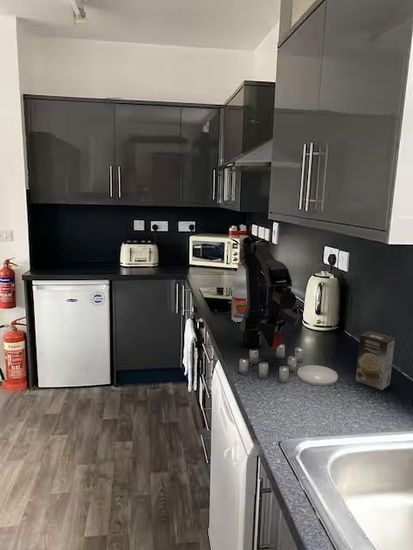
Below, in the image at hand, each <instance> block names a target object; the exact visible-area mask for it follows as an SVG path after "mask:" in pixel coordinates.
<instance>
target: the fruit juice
mask: <svg viewBox="0 0 413 550" xmlns="http://www.w3.org/2000/svg"><path fill="white" fill-rule="evenodd" d="M232 286H233V288H232V290H231V321H232V320H233V321H232V322H234V321H235V322H234V323H237V322H241V321H242V319H243V318H244V311H245V310H246V308H247V288H246V269H245V268H244V266H243V265H242V263H241V261H238V262H237V269H236V273H235V275H234V276H233V277H232Z"/></svg>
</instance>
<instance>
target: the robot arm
mask: <svg viewBox="0 0 413 550" xmlns="http://www.w3.org/2000/svg"><path fill="white" fill-rule="evenodd" d="M239 259H240V262H241V263H242V265H243V266H244V268H245V269H246V288H247V308H246V310H245V311H244V318H243V319H242V321H241V323H239V329H240V330H241V331H242V343H241V346H242V347H246V348H251V349H257V348H259V346H261V345H262V338H263V337H264V340H265V339H266V342H267V344H268V345H267V344H266V345H267V347H269V348H270V347H272V345H273V340H274V335H275V333H276V332H279V333H280V334H281V331H282V328H283V326H285V325H286V324H289V325H290V326H292V327H295V325H296V324H298V321H299V319H300V318H301V314H300V309H299V308H298V307H296V306H295V305H296V303H297V297H296V295H295V293H294V292H292V286H293V283H292V282H293V280H292V277H291V274H290V272H289V268H288V267H287V265H286V264H284V262H282V261H280V260H277V259H276V258H275V257H274V255H273V254H272V253H271V251H270V250H269V248H267V246H266V242H264V241H263V242H262V241H261V242H257V241H256V242H252V243H250V244H249V245H246V246H243V247H242V248H240V250H239ZM260 265H261V266H262V268H263V275H264V279H265V282H266V283H265V286H266V302H265V304H264V308H266V309H265V310H266V311H264V310H263V309H262V307H260V292H259V273H258V272H259V270H258V269H259V268H260ZM294 306H295V307H294ZM265 312H266V313H265ZM262 335H263V337H262ZM266 342H265V343H266Z"/></svg>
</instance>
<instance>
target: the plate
mask: <svg viewBox="0 0 413 550" xmlns="http://www.w3.org/2000/svg"><path fill="white" fill-rule="evenodd" d="M296 375H297V378H298V379H299V380H301V381H302V382H304V383H306V384H309V385H313V386H314V385H315V386H322V387H323V386H331V385H334V384H336V383H337V381H338V377H339V375H338V373H337V372H336V371H335V370H334V369H332V368H331V367H330V368H329V367H326V366H323V365H313V364H312V365H311V364H310V365H304V366H301V367H299V368H298V369H297V374H296Z"/></svg>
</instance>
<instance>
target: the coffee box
mask: <svg viewBox="0 0 413 550" xmlns="http://www.w3.org/2000/svg"><path fill="white" fill-rule="evenodd" d="M395 339H396V337H393V336H390V335H386V334H384V333H379V332H375V331H372V330H367V331H365V332H363V333H362V334H360V335H359V342H358V343H359V344H358V355H357V356H358V357H357V366H356V375H355V381H356V382H357V383H360V384H364V385H367V386H370V387H372V388H374V387H375V389H378V390H381V391H383V390H384V389H386V388H387V387H388V386H390V383H391V375H392V368H393V359H394V352H395V351H394V350H395V344H396V343H395V341H396V340H395Z"/></svg>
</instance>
